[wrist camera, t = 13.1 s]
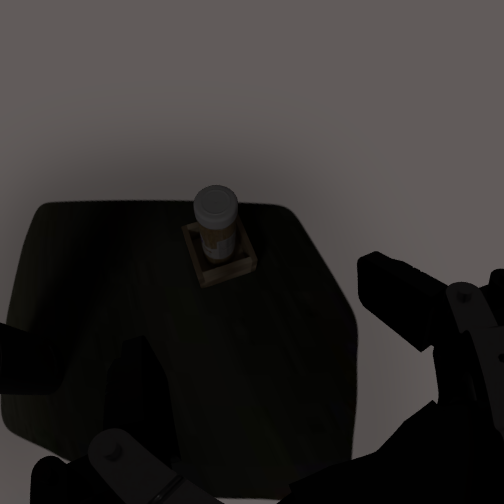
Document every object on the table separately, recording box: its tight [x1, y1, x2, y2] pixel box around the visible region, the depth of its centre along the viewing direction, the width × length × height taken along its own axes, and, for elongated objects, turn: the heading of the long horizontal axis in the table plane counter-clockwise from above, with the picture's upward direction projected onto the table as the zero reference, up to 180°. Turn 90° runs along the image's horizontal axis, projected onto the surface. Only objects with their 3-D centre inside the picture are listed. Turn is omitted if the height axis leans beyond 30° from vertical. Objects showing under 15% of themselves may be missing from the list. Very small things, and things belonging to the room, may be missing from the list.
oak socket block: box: [182, 213, 258, 289], centre depth 40 cm, size 8×8×4 cm
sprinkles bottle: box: [194, 185, 238, 268], centre depth 35 cm, size 5×5×13 cm
